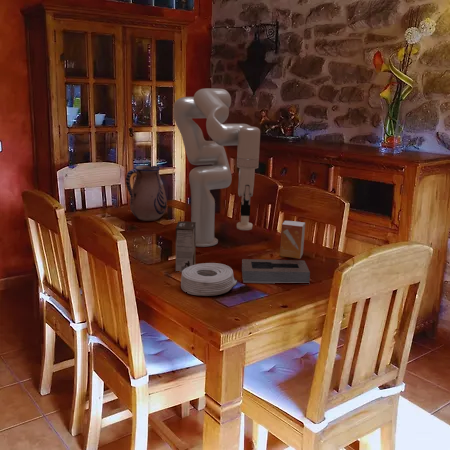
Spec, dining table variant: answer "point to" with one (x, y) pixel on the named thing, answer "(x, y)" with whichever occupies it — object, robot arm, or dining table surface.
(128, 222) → the dining table surface
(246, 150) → the robot arm
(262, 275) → the rail
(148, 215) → the ceramic pitcher
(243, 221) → the peg
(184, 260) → the coffee box
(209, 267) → the cable
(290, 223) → the small box
